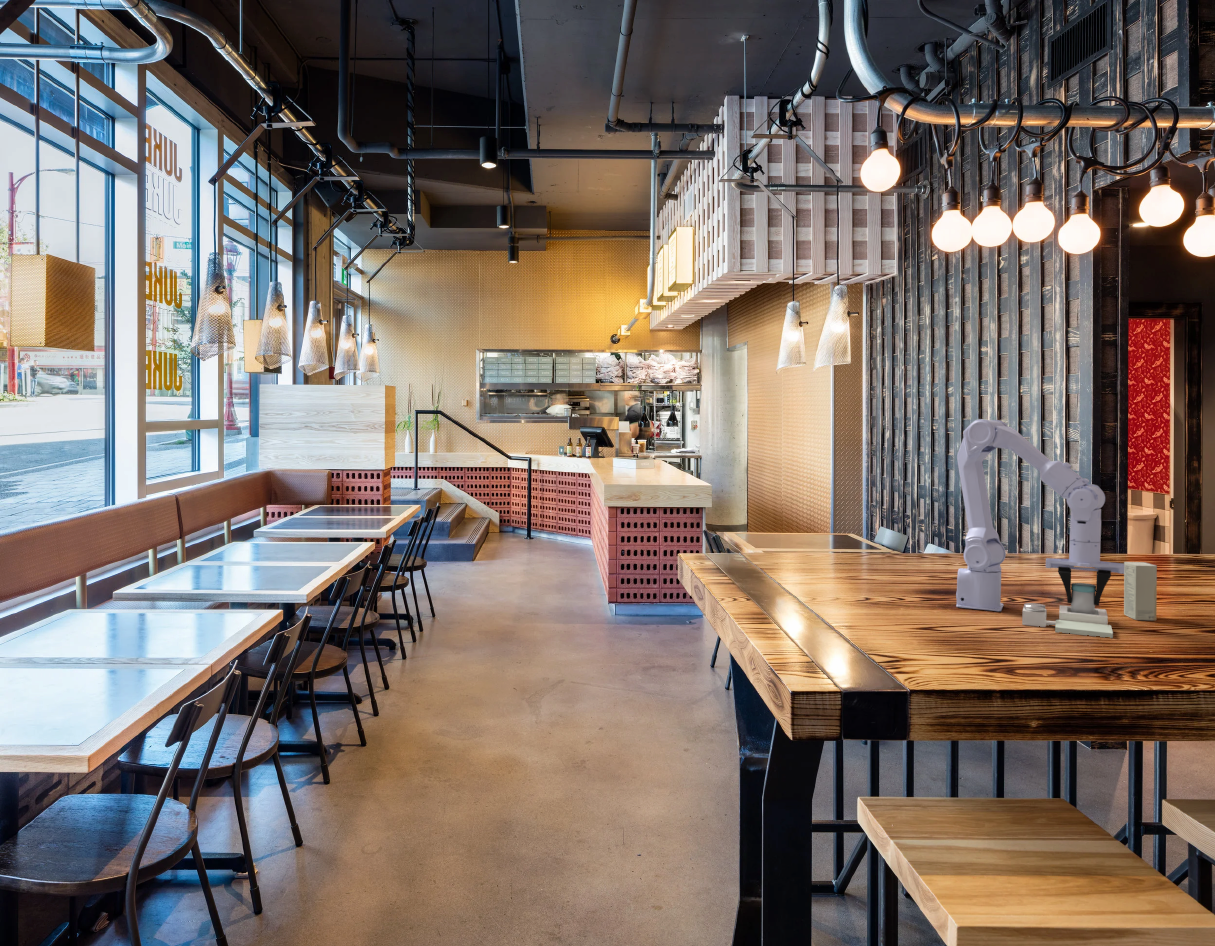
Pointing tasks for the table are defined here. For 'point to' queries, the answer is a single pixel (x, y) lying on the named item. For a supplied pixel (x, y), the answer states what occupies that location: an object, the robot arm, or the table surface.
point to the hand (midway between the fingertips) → (1082, 603)
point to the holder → (1064, 617)
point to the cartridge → (1083, 598)
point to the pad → (1083, 628)
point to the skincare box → (1140, 590)
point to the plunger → (1034, 607)
